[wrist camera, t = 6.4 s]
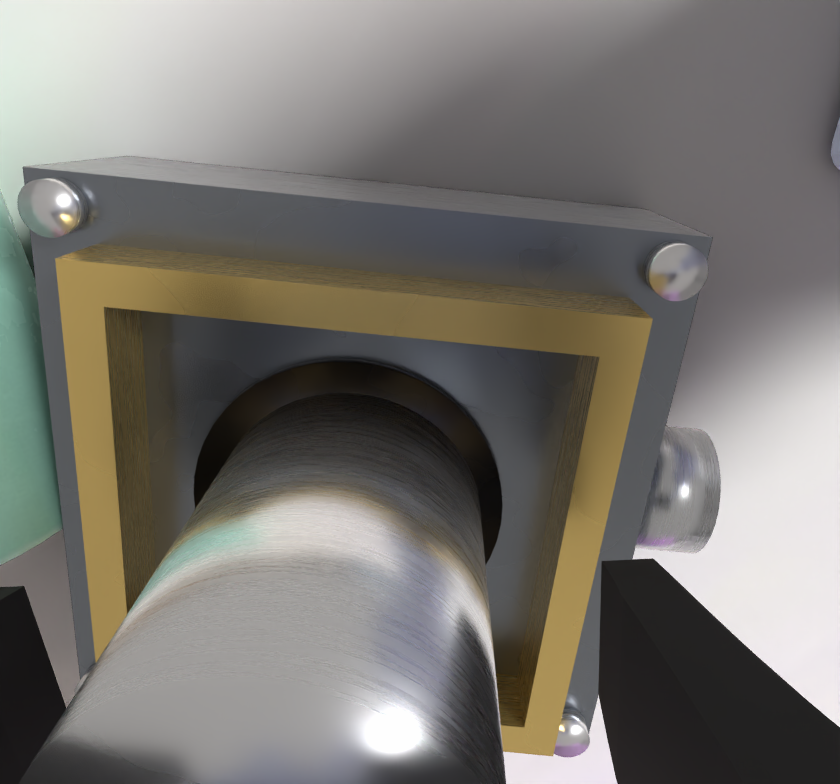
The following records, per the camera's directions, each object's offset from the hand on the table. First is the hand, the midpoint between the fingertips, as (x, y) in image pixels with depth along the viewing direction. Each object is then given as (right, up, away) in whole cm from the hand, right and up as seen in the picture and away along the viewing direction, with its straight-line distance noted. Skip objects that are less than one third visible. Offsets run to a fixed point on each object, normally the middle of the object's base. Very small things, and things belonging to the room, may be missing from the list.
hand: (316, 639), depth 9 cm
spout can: (0, +1, +3) cm, 3 cm away
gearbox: (0, +3, +6) cm, 7 cm away
